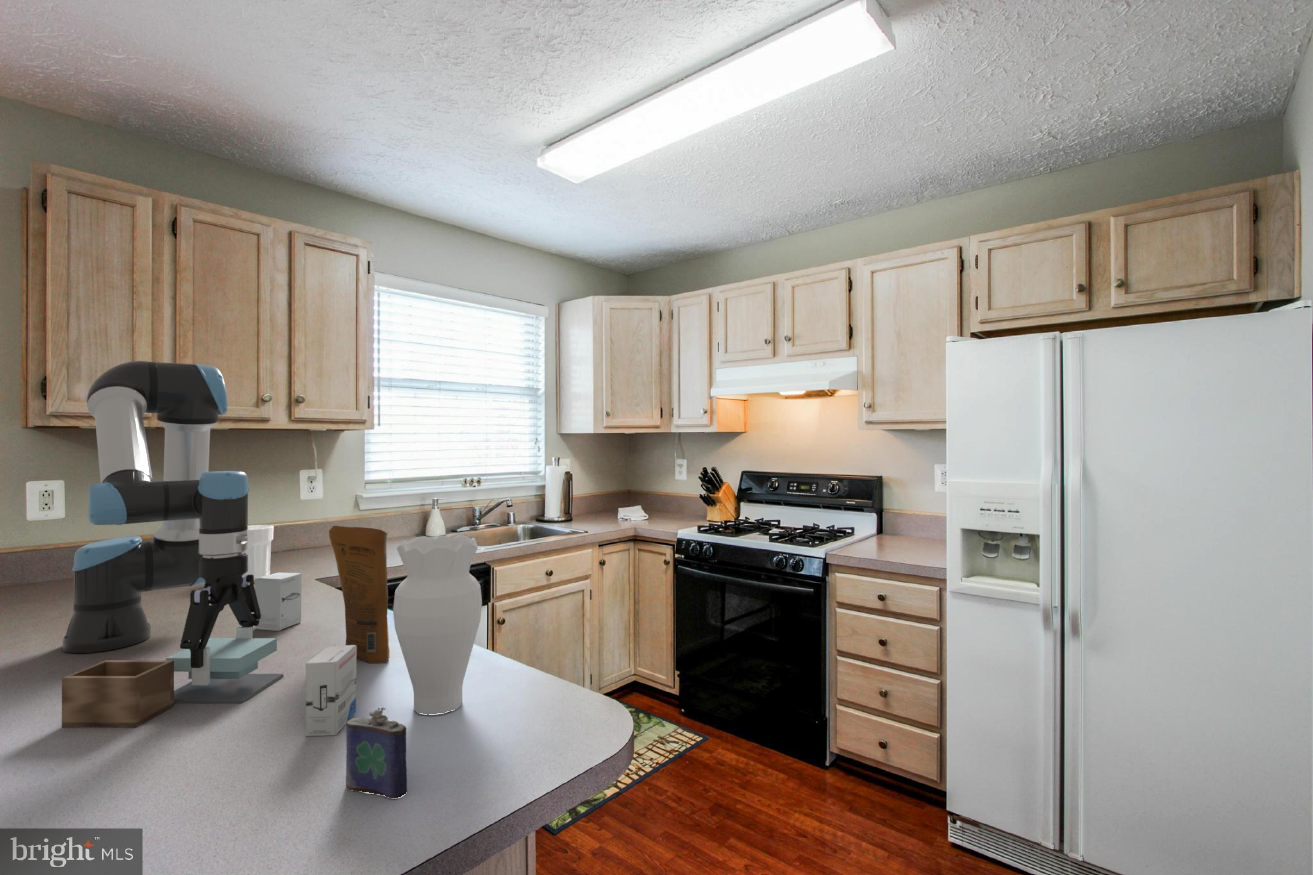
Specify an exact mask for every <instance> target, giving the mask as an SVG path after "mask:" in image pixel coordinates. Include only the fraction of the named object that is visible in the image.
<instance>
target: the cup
mask: <svg viewBox="0 0 1313 875" xmlns="http://www.w3.org/2000/svg"><path fill="white" fill-rule="evenodd" d="M274 530H275V527H274V525H271V524H252V525H248V529H247V537H248V549H247V550H246V551H245V552H244V553H246V554H247V555H248V571H247V572H246V573H245V574H243V575H253V576H254V584H255V578H258V577H262V576H266V575H270V574H271V559H272V558H271V555H272V554H271V552H272V541H273V540H274Z"/></svg>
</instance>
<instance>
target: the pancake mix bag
mask: <svg viewBox="0 0 1313 875" xmlns="http://www.w3.org/2000/svg"><path fill="white" fill-rule="evenodd" d="M328 536H329V539H330V544H331V548H332V550H333V553H334V554H333V555H334V558H335V562H336V568H337V572H338V576H339V582H340V586H341V591H342V597H343V604H344V619H345V635H346V636H345V645H355V646H356V647H357V651H356V659H358V660H361V661H363V662H365V663H368V664H383V663H389V662H390V660H389V659H390V646H389V641H390V638H389V636H390V635H389V626H388V622H389V621H388V610H389V609H388V605H389V603H388V602H389V589H388V570H387V568H388V566H387V558H388V557H387V554H388V553H387V537H388V532H386V531H384V530H382V529H378V528H373V527H362V526H361V527H359V526H352V527H351V526H349V527H348V526H341V525H332V526H331V528H330V529H329V530H328Z"/></svg>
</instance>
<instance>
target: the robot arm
mask: <svg viewBox="0 0 1313 875" xmlns="http://www.w3.org/2000/svg"><path fill="white" fill-rule="evenodd" d="M227 394H228V393H227V387H226V384H225V380H224V377H223V374H222V373H221V371H220V370H219V368H217V367H215V366H212V365H204V364H197V363H180V362H162V361H161V362H160V361H147V360H133V361H128V362H127V361H126V362H123V363H119V364H118V365H116V366H113V367H111V368H109V369H107V370H106V371H105V372H103V373H102V374H101V375H99V376H98V378H96V380H94V382H93V383H92V385H91V386H90V388H89V390H88V393H87V397H86V403H87V404H86V406H87V410H88V412H89V414H90V415H91V417H93V418H95V431H96V432H95V433H96V444H97V456H98V465H99V466H98V468H99V478H100V479H99V480H100V483H94V484H92V485H90V486H89V487H88V492H87V507H88V508H87V509H88V510H87V511H88V512H87V515H88V516H87V517H88V521H89V522H90V524H92V525H95V526H96V525H97V526H106V525H107V526H114V525H116V526H123V525H129V524H131V525H133V524H141V523H154V522H162V523H161V526H160V528H158V529H157V530H155V531H154V532H153V540H150V541H143V539H142V538H141V536H139V535H131V536H122V537H114V538H110V539H105V540H100V541H99V540H98V541H95V542H91V543H88V544H86V545H83V546H81V547H79V548H77V550H76V551H75V553H74V557H73V558H74V559H73V567H72V572H73V614H72V617H71V618H70V621H69V624H68V627H67V629H66V633H65V635H64V636H63V639H62V651H63V652H64V653H69V654H70V653H71V654H91V653H98V652H105V651H112V650H116V649H122V648H125V647H129V646H133V645H136V644H140V643H142V642H144V641H147V640H148V639H150V638H151V636H152V635H151V634H152V633H151V632H152V626H151V624H150V623H149V621H148V619H147V616H146V613H145V611H144V608H143V605H142V593H145V592H152V591H161V590H168V589H175V588H176V589H177V588H184V587H194V586H197V585H203V584H204V585H203V588H202V589H200V590H199V589H196V590H195V589H193V590H191V591H190V594H189V607H188V612H187V616H186V619H185V623H184V627H183V632H182V636H181V640H180V644H179V648H180V649H181V650H185V649H190V651H191V668H192V679H191V682H192V685H208V684H210V647H206V645H207V643H208V640H209V638H211V635H212V632H213V629H214V627H215V625H216V622H217V620H218V616H219V614H220V613H221V612H222V611H223V610H224V609H225V606H228V607H229V608H230V610H231V611H232V614H233V615H234V617H235V619H236V621H237V623H238V625H239V626H238V627H236V631H235V632H236V634H235V635H236V637H235V638H254V626H258V625H259V620H260V619H261V612H260V608H259V604H258V600H257V596H256V592H255V583H254V576H253V575H243V574H245V573H246V572H247V571H248V555H247V554H246V553H244V552H245V551H246V550H247V549H248V537H247V529H248V526H249V525H248V523H249V522H248V520H249V517H248V516H249V514H248V513H249V492H250V487H249V482H248V481H249V480H248V475H247V473H246V472H244V471H240V470H218V471H217V470H216V471H215V470H214V471H210V470H209V467H210V466H209V465H210V464H209V463H210V442H211V441H210V440H211V438H210V437H211V429H212V428H213V427H215V426H216V425H217V424H218V423H219V416H223V415H226V414H227V412H228V395H227ZM145 414H156V422H157V423H159V424H160V425H161V426H163V427H164V447H163V448H164V453H163V454H164V455H163V481H162V480H160V481H159V480H158V481H157V480H155V481H154V478H153V473H152V467H151V461H150V455H149V454H150V452H149V448H148V441H147V434H146V430H145V423H144V417H143V416H144V415H145Z"/></svg>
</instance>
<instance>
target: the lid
mask: <svg viewBox="0 0 1313 875" xmlns="http://www.w3.org/2000/svg"><path fill="white" fill-rule="evenodd" d="M277 640H278V639H277V638H275V637H274V638H271V637H270V638H268V637H266V638H264V637H263V638H261V637H259V638H258V637H253V638H236V637H233V638H232V637H209V640H208V643H207V645H206V647H210V679H240V678H242V677H244V676H245V675H247V674H251V673H252V672H254V671H255V670H257V669H258V668H259V661H261V660H263V659H265V658H266V657H268V656H270V655H272V654H273V653H276V652H277V651H278V649H277V648H278V647H277V646H278V645H277V644H278V641H277ZM165 660H174V673H177V672H178V673H179V672H182V673H183V672H187V673H188V675H187V676H188V678H187V679H188V680H192V668H191V651H190V649H182V650H181V651H179V652H176V653H174V654H172V655H170V656H167V657H166V658H165Z"/></svg>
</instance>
